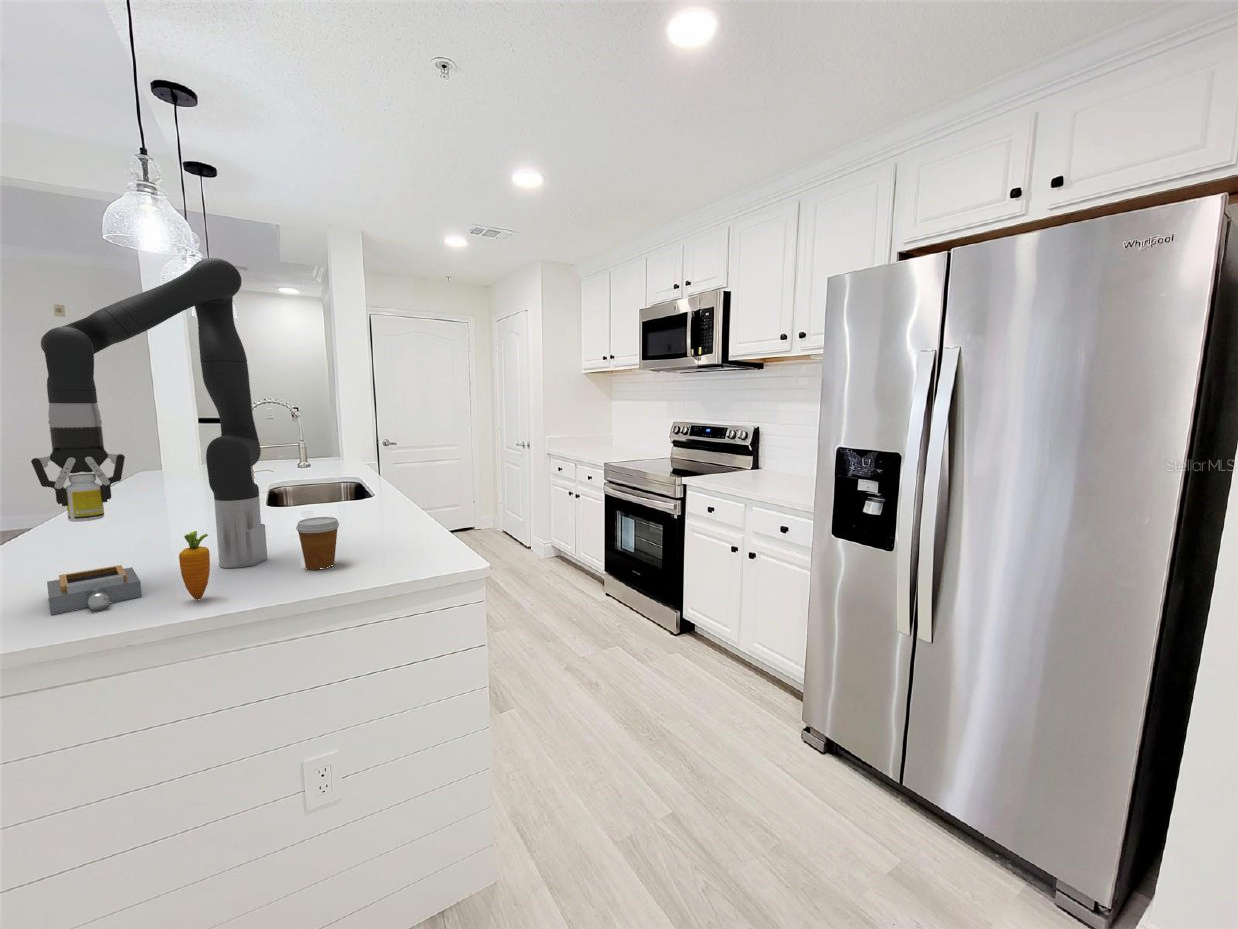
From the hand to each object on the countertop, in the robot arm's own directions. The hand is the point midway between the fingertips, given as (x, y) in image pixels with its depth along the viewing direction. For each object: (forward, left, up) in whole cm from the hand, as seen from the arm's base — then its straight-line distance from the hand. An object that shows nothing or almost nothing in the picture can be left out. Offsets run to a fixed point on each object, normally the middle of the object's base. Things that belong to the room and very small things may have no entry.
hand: (85, 503), depth 109 cm
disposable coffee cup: (-40, -16, -20) cm, 47 cm away
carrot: (-26, +6, -20) cm, 33 cm away
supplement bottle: (0, 0, -4) cm, 4 cm away
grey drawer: (-5, +6, -19) cm, 21 cm away
